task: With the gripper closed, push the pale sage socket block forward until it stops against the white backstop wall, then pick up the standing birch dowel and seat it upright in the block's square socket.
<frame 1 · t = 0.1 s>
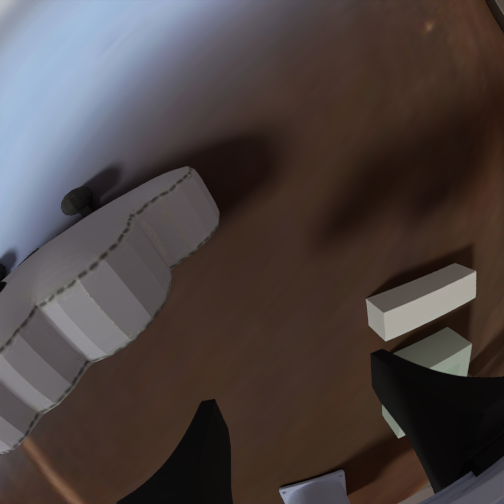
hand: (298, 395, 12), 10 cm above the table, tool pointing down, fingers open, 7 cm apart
backstop wall: (416, 292, 23), on the table
socket block: (425, 383, 23), point 2 cm above the table, slide at 0.0 cm
decorative item: (60, 281, 20), on the table
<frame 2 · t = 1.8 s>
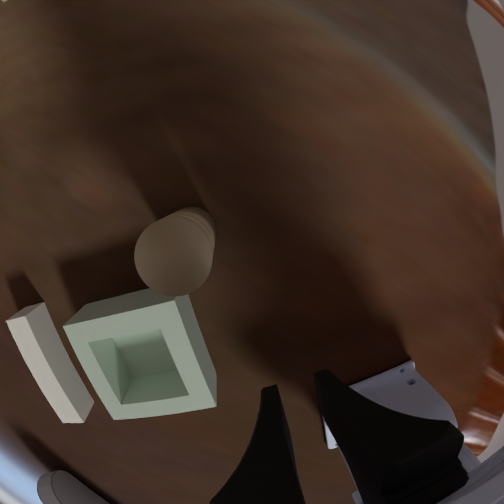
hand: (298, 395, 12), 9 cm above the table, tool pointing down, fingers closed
backstop wall: (58, 357, 20), on the table
socket block: (144, 355, 19), point 2 cm above the table, slide at 0.0 cm
dowel: (191, 230, 19), on the table
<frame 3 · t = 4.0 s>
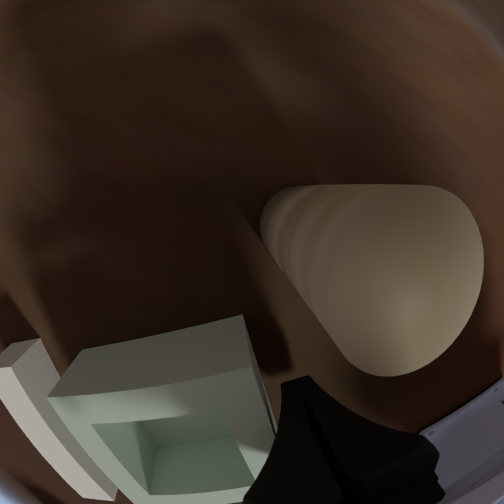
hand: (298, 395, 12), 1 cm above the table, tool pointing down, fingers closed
backstop wall: (67, 414, 13), on the table
socket block: (181, 430, 11), point 2 cm above the table, slide at 1.6 cm, touching gripper
dowel: (299, 225, 12), on the table
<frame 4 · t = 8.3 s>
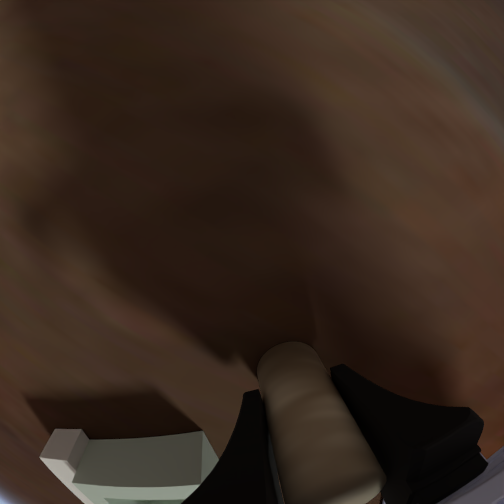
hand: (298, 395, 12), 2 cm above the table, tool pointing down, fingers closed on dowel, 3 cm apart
backstop wall: (104, 474, 15), on the table
socket block: (164, 495, 13), point 2 cm above the table, slide at 4.0 cm
dowel: (288, 368, 14), on the table, touching gripper
when the fingers open (5 cm above the table, at t = 11.3 s): dowel drops 2 cm, resting on socket block.
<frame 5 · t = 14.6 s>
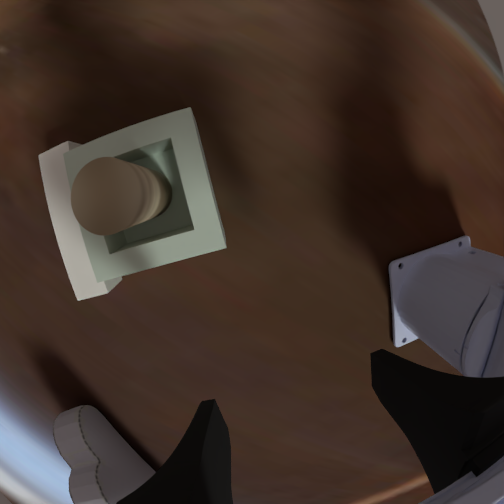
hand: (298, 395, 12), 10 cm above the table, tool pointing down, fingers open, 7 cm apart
backstop wall: (87, 217, 19), on the table
socket block: (146, 195, 17), point 2 cm above the table, slide at 4.0 cm, touching dowel
decorative item: (154, 476, 25), on the table
dowel: (148, 194, 19), point 1 cm above the table, touching socket block
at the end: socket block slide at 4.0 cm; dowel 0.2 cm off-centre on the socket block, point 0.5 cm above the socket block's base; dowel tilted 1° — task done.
